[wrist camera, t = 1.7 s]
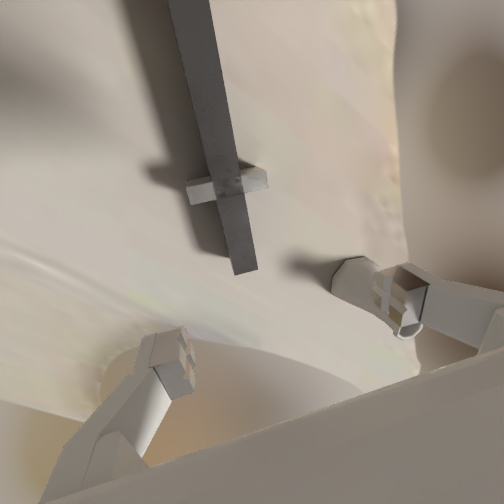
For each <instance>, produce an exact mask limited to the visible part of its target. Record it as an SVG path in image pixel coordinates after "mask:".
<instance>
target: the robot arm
mask: <svg viewBox="0 0 504 504" xmlns="http://www.w3.org/2000/svg"><path fill="white" fill-rule="evenodd" d="M372 280H373V282H374V283H375V284H374V286H373V287H372V290H371V295H372V298H373V301H374V303H375V304H376V305H377V306H378V307H379V308H380V309H381V310H384V311H387V312H388V317H389V318H391V319H392V320H393V321H394V322H395V323H396V324H397V325H398V326H399V327H400V328H401V327H405V326H408V325H412V324H415V323H419V322H420V323H421V324H423V325H425V326H427V327H430V328H432V329H434V330H437V331H439V332H441V333H443V334H446V335H448V336H450V337H453V338H455V339H457V340H459V341H461V342H464V343H466V344H468V345H471V346H473V347H475V348H477V349H479V351H478V354H477V355H476V356H473V357H470V358H468V359H465V360H462V361H459V362H456V363H453V364H450V365H447V366H444V367H441V368H438V369H435V370H433V371H430V372H427V373H424V374H421V375H418V376H415V377H412V378H409V379H406V380H403V381H400V382H397V383H395V384H392V385H389V386H386V387H383V388H380V389H377V390H374V391H371V392H368V393H365V394H362V395H360V396H357V397H354V398H351V399H348V400H345V401H342V402H339V403H337V404H333V405H330V406H328V407H325V408H322V409H319V410H316V411H313V412H310V413H307V414H304V415H301V416H298V417H296V418H292V419H290V420H287V421H284V422H281V423H278V424H275V425H272V426H269V427H266V428H263V429H260V430H257V431H255V432H251V433H249V434H246V435H243V436H240V437H237V438H234V439H231V440H228V441H225V442H222V443H219V444H217V445H213V446H211V447H208V448H205V449H202V450H199V451H196V452H193V453H190V454H187V455H184V456H181V457H178V458H175V459H172V460H170V461H167V462H164V463H161V464H158V465H155V466H152V467H148V465H147V464H146V463H145V462H144V461H143V459H142V456H143V454H144V453H145V451H146V449H147V447H148V445H149V443H150V441H151V440H152V438H153V436H154V434H155V432H156V430H157V428H158V426H159V424H160V423H161V421H162V419H163V417H164V415H165V413H166V411H167V410H168V408H169V406H170V404H171V402H172V401H171V400H173V399H176V398H178V397H182V396H185V395H187V394H191V393H193V392H195V374H194V372H193V368H194V366H195V354H194V349H193V345H192V342H191V341H190V340H189V339H187V330H186V328H185V326H179V327H175V328H171V329H168V330H164V331H160V332H157V333H153V334H149V335H145V336H144V337H143V338H142V340H141V343H140V347H139V350H138V354H137V357H136V361H135V364H134V368H133V371H132V373H131V374H128V375H127V376H126V377H125V378H124V379H123V380H122V381H121V383H120V384H119V385H118V386H117V387H116V388H115V389H114V391H113V392H112V393H111V394H110V395H109V396H108V397H107V398H106V399H105V401H104V402H103V403H102V404H101V405H100V406H99V407H98V408H97V410H96V411H95V412H94V413H93V414H92V415H91V416H90V417H89V419H88V420H87V421H86V422H85V423H84V424H83V425H82V427H81V428H80V429H79V430H78V431H77V432H76V433H75V434H74V435H73V437H72V438H71V439H70V440H69V441H68V442H67V443H66V444H65V446H64V447H63V449H62V451H61V454H60V456H59V458H58V460H57V463H56V465H55V467H54V469H53V472H52V474H51V476H50V479H49V481H48V483H47V485H46V488H45V490H44V492H43V495H42V497H41V499H40V501H39V503H38V504H504V292H499V291H495V290H490V289H485V288H481V287H476V286H472V285H467V284H462V283H457V282H452V281H448V280H446V281H442V280H440V279H439V278H437V277H435V276H433V275H431V274H430V273H428V272H426V271H424V270H423V269H421V268H419V267H417V266H416V265H414V264H412V263H408V262H406V263H403V264H400V265H396V266H394V267H390V268H387V269H383V270H380V271H376V272H374V274H373V278H372Z"/></svg>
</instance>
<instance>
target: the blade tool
mask: <svg viewBox="0 0 504 504" xmlns="http://www.w3.org/2000/svg"><path fill="white" fill-rule="evenodd" d="M167 3H168V7H169V11H170V15H171V20H172V24H173V28H174V32H175V36H176V40H177V44H178V48H179V52H180V56H181V61H182V65H183V69H184V73H185V77H186V81H187V85H188V89H189V93H190V97H191V102H192V106H193V110H194V114H195V118H196V122H197V126H198V130H199V134H200V138H201V143H202V147H203V151H204V155H205V159H206V163H207V167H208V171H209V175H210V176H207V177H202V178H197V179H192V180H187V183H186V191H187V195H188V198H189V201H190V205H194V204H199V203H203V202H208V201H212V200H216V204H217V208H218V212H219V216H220V220H221V225H222V229H223V233H224V237H225V241H226V245H227V249H228V253H229V257H230V261H231V264H232V268H233V271H234V275H239V274H243V273H246V272H250V271H254V270H258V266H257V261H256V255H255V250H254V244H253V239H252V233H251V228H250V223H249V217H248V212H247V206H246V201H245V195H244V193H248V192H253V191H257V190H262V189H266V188H268V181H267V173H266V170H264V169H261V168H259V167H256V166H254V167H250V168H245V169H240V168H239V163H238V157H237V152H236V146H235V141H234V135H233V130H232V124H231V119H230V113H229V108H228V103H227V97H226V92H225V86H224V81H223V75H222V70H221V64H220V59H219V53H218V48H217V42H216V37H215V32H214V26H213V21H212V15H211V10H210V4H209V0H167Z"/></svg>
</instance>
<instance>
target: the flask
mask: <svg viewBox="0 0 504 504" xmlns="http://www.w3.org/2000/svg"><path fill="white" fill-rule="evenodd" d="M380 270H381V269H380V268H379V266H378V265H377V264H375V263H374V262H372V261H371V260H370V259H368V258H367V257H361V258H355V259H348V260H346V261H345V262H344V263H343V265H342V266H341V267H340V268H339V270H338V271H337V272H336V273H335V274H334V276H333V279H332V287H331V294H332V295H334V296H336V297H338V298H340V299H342V300H344V301H346V302H348V303H350V304H352V305H355V306H357V307H359V308H361V309H363V310H365V311H368V312H370V313H372V314H374V315H375V316H376V317H378V318H379V319H381V320H382V321H384V322H385V323H386V324H387V325H388V326H389V327H391V328H392V330H393V334H394V335H395V336H396V337H398V338H399V339H401V340H406V339H410V338H413V337H414V336H415V335H416V334H417V333H418V332H419V331H420V330H421V329H422V327H423V324H421V323H420V322H419V323H415V324H412V325H408V326H405V327H401V328H400V327H399V326H398V325H397V324H396V323H395V322H394V321H393V320H392V319H391V318H389V317H388V312H387V311H384V310H381V309H380V308H379V307H378V306H377V305H376V304H375V303H374V301H373V298H372V295H371V290H372V287H373V286H374V284H375V283H374V282H373V280H372V278H373V274H374V272H376V271H380Z"/></svg>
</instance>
